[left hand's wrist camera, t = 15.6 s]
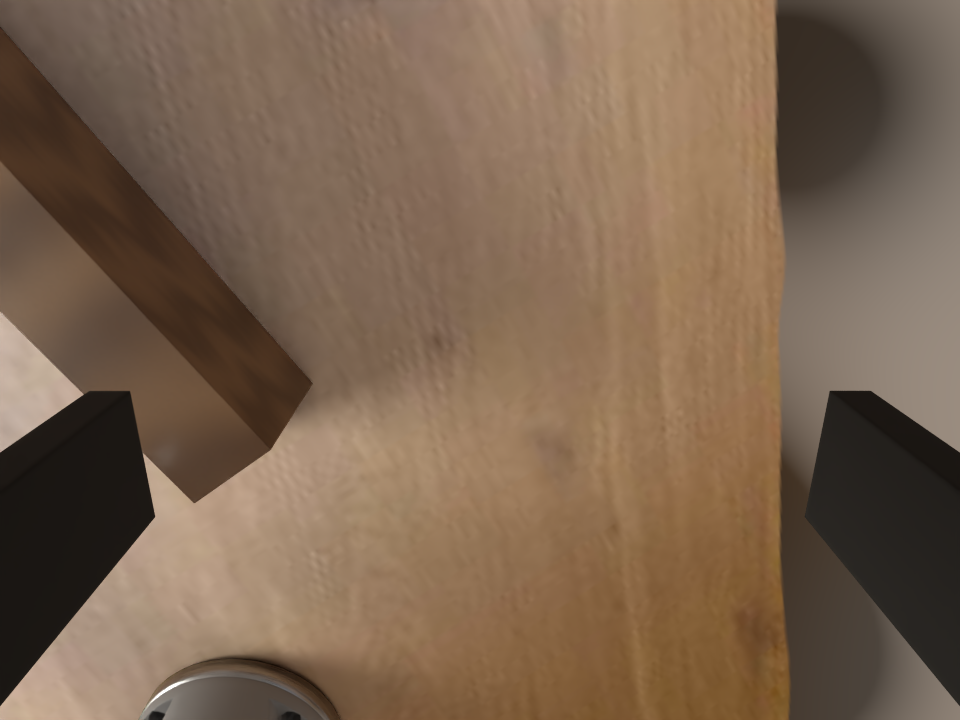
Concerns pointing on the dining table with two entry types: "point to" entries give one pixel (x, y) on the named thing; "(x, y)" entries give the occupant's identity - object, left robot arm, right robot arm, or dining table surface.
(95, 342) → the bar
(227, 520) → the dining table surface
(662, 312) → the dining table surface
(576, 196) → the dining table surface
